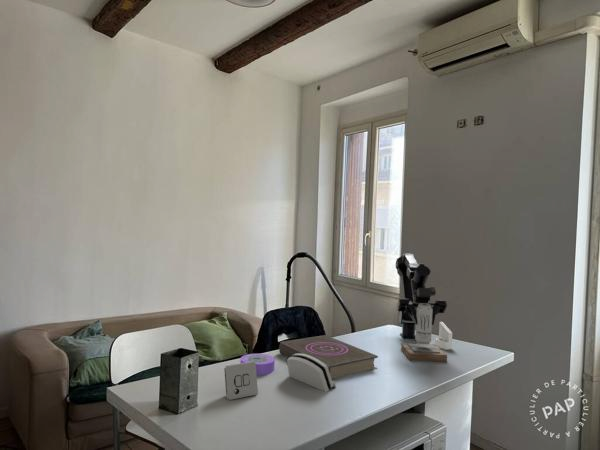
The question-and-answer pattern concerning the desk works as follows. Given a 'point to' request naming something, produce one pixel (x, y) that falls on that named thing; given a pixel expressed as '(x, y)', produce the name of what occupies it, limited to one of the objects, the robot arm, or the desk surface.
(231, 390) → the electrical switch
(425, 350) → the brown square frame
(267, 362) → the masking tape
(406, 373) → the desk surface
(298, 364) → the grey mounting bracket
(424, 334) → the energy drink can
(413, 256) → the robot arm
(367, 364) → the book
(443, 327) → the white angled block
